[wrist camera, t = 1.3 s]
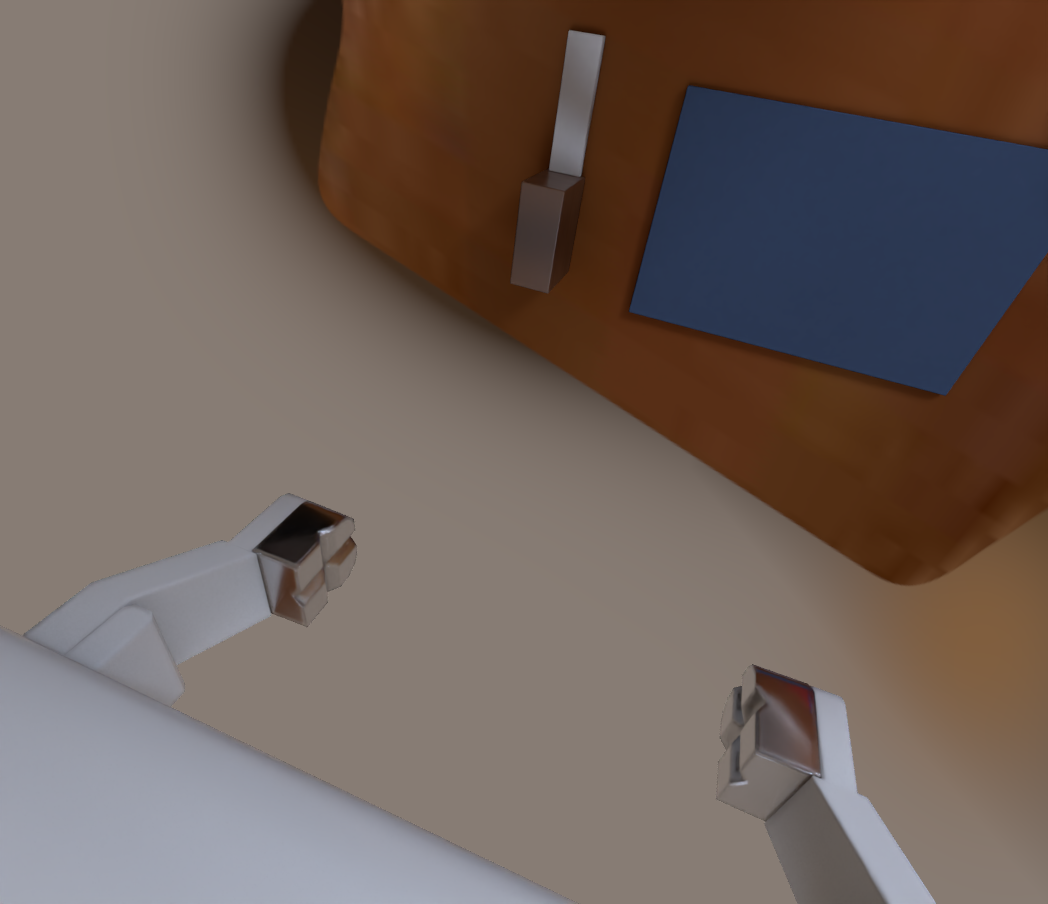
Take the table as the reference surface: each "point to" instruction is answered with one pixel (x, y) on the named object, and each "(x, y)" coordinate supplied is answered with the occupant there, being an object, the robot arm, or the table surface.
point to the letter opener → (558, 174)
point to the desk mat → (841, 236)
